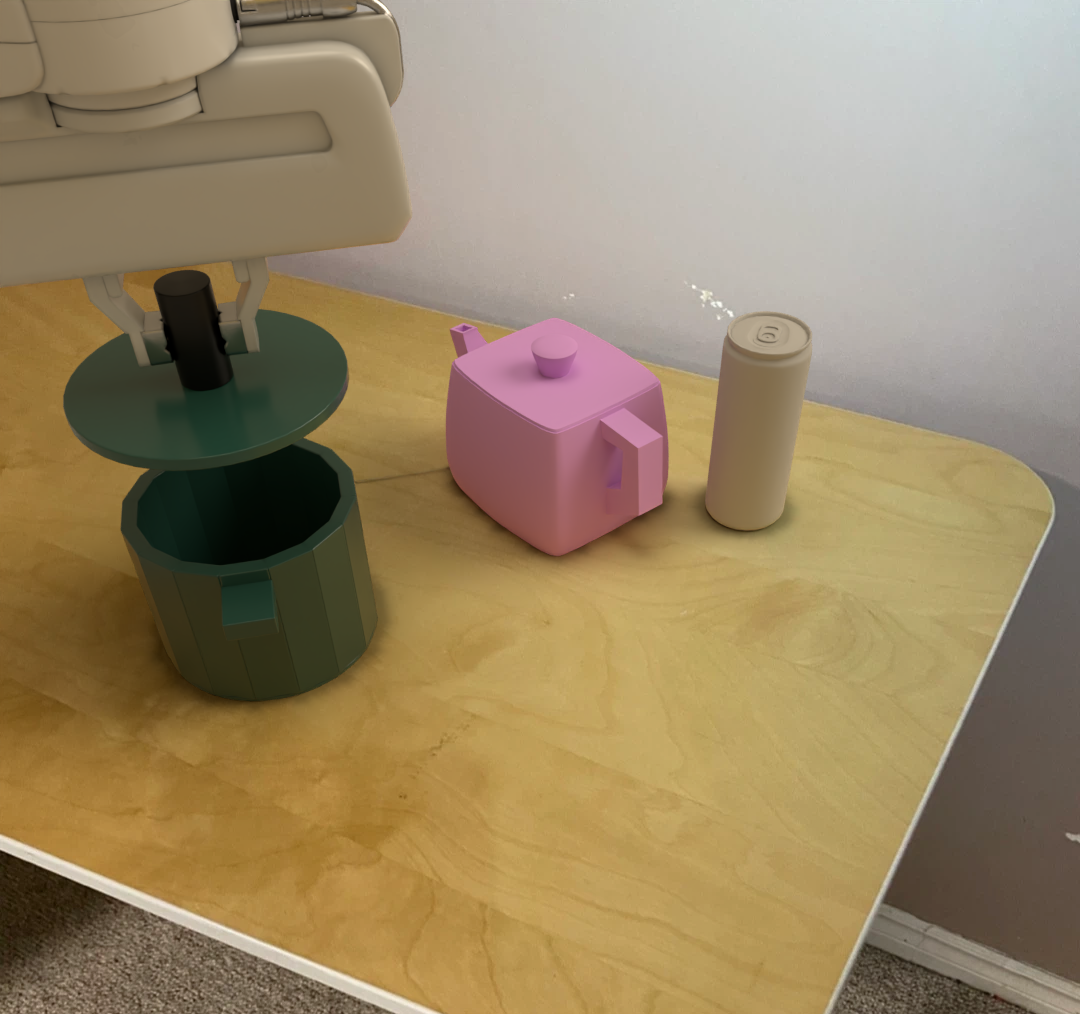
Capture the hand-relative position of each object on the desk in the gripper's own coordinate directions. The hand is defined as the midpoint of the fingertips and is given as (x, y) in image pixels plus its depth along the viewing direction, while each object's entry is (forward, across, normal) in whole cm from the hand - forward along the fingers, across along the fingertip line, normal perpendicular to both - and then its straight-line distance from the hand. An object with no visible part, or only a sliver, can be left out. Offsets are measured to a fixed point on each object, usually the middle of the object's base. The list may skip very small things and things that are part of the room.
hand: (200, 353), depth 50 cm
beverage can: (+17, -29, -4) cm, 34 cm away
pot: (+17, 0, 0) cm, 17 cm away
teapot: (+17, -18, -9) cm, 26 cm away
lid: (+2, 0, 0) cm, 2 cm away
